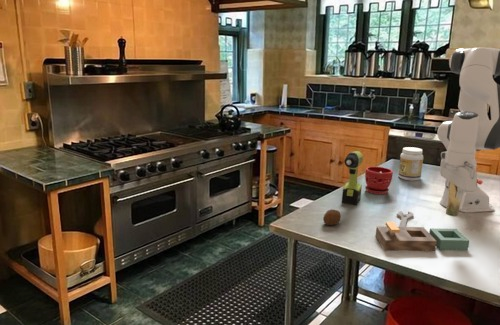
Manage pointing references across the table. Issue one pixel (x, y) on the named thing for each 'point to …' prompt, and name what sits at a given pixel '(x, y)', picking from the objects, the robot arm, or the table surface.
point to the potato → (332, 217)
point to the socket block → (406, 239)
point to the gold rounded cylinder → (452, 201)
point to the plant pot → (378, 179)
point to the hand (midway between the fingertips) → (454, 195)
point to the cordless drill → (352, 179)
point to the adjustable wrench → (404, 218)
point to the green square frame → (449, 239)
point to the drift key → (392, 228)
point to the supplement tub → (411, 163)
